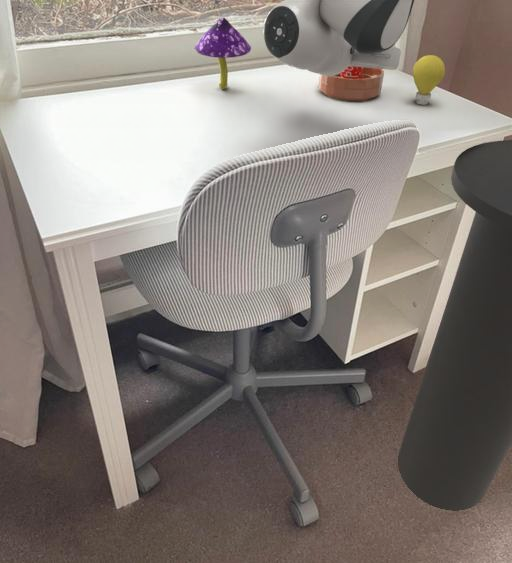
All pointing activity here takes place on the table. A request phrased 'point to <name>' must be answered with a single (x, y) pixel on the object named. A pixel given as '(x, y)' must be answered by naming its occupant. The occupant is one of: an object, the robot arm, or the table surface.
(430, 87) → the light bulb
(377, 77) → the bowl
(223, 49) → the decorative mushroom
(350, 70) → the beverage cup
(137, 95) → the table surface
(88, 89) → the table surface
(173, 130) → the table surface
